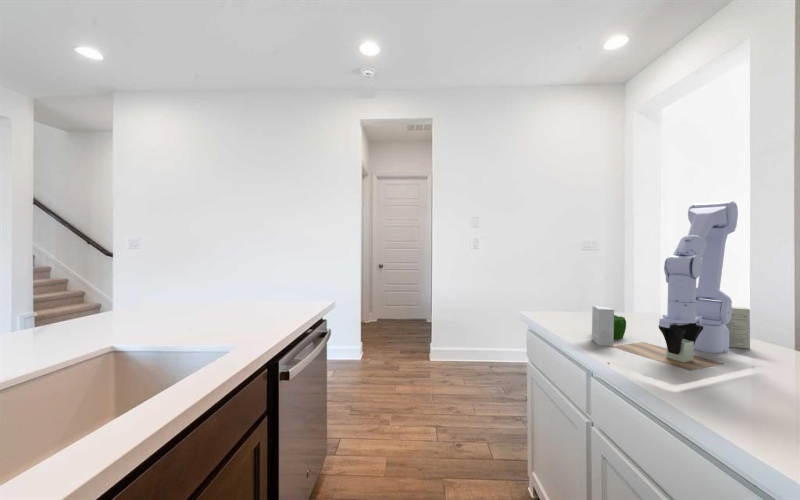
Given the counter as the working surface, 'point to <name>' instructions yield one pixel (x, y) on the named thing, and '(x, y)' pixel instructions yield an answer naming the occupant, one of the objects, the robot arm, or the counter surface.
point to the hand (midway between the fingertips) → (680, 352)
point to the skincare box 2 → (739, 328)
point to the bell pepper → (619, 327)
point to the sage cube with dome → (683, 352)
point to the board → (665, 356)
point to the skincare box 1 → (603, 325)
